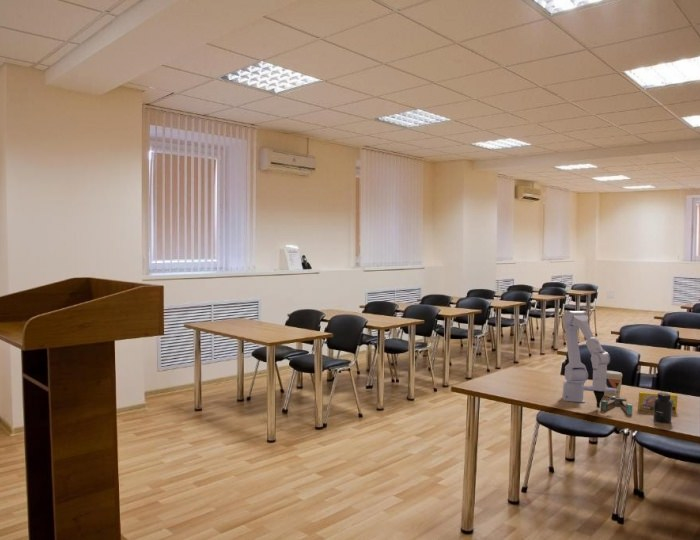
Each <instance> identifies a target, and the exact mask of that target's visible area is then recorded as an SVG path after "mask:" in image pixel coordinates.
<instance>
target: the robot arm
mask: <svg viewBox="0 0 700 540" xmlns="http://www.w3.org/2000/svg"><path fill="white" fill-rule="evenodd" d="M562 321H563V326H564V332H565V333H564V334H565V340H566V347H567V348H566V349H567V355H568V356H567V357H568V363H567V364H566V365H565V366H564V378H565V380H566V381H565V380H564V381H563V382H562V383H563V385H562V399H563V401H565V402H573V403H585V402H586V401H585V399H584V391H589V392H593V395H594V397H595V400H596V408H597V409H599V408H600V409H601V401H602V399H603V398H604V392H607V393H614V394H616V393H617V390H616V389H614V388H608V387H606V376H607V371H608V365H609V364H610V363H611V355H610V354H609V353H608V351H606V350H605V349H604V348H603V347H602V345H601V343H600V341H599V339H598V338H596V337H594V333H593V331H592V329H591V327H590V325H589V315H588V314H587V312H586V311H585V310H566V311H565V312H564V314H562ZM578 329H579V330H580V332H581V333H582V335H583V337H584V338H585V340H586V341H585V345H586V347H587V349H588V351H589V354H590V355H591V357H590V361H591V366H592V383H591V384H592V385H585V383H586V381H587V380H588V379H589V373H588V370H587V367H586V365H585V364H584V363H582V361H581V352H580V346H579V338H578Z"/></svg>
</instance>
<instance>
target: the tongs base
mask: <svg viewBox="0 0 700 540" xmlns="http://www.w3.org/2000/svg"><path fill="white" fill-rule="evenodd" d="M609 400H614V401H615V406H620V407H621V408H622V409H623V411H624V412H625V414H626V413H627V414H628V415H629V416H632V415H633V404H632V403H628V401H627V398H624V397H616V396H611V397H609ZM627 414H626V415H627Z"/></svg>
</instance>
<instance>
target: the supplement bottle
mask: <svg viewBox="0 0 700 540" xmlns="http://www.w3.org/2000/svg"><path fill="white" fill-rule="evenodd" d="M669 394H670V393H665V392H658V396H657V397H658V399H656V400H655V403H654V411H653V420H654V421H655V422H658V423H661V424H670V423H671V422H672V419H673V418H672V414H673V412H672V402H671V401H670V395H669Z"/></svg>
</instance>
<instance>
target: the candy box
mask: <svg viewBox="0 0 700 540" xmlns="http://www.w3.org/2000/svg"><path fill="white" fill-rule="evenodd" d="M658 393H659V392H658ZM658 393H657V392H645V391H642V392H641V391H639V392H638V404H637V410H638V411H648V410H649V411H650V412H654V403H655V400H656V399H658V397H657V396H658ZM668 394H669V395H670V401H671V402H672V413H677V409H678V408H677V407H678V394H674V393H673V394H672V393H671V394H670V393H668ZM649 411H648V412H649Z"/></svg>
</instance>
